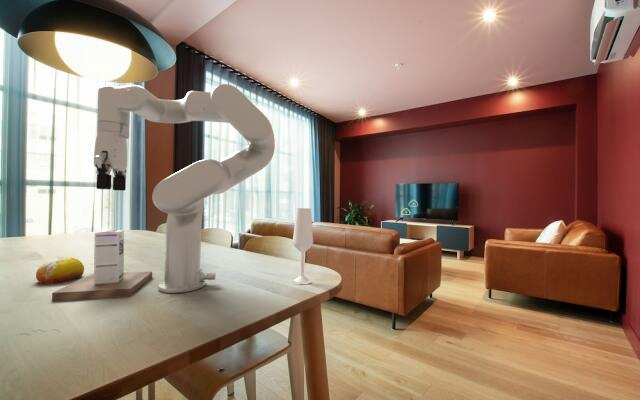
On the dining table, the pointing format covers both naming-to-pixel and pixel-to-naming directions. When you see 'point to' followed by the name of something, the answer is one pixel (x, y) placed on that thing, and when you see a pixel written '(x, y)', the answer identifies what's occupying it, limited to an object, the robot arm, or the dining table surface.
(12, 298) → the dining table surface
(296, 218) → the champagne flute
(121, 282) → the walnut board
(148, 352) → the dining table surface
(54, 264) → the fruit
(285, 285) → the dining table surface
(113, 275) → the syrup box
